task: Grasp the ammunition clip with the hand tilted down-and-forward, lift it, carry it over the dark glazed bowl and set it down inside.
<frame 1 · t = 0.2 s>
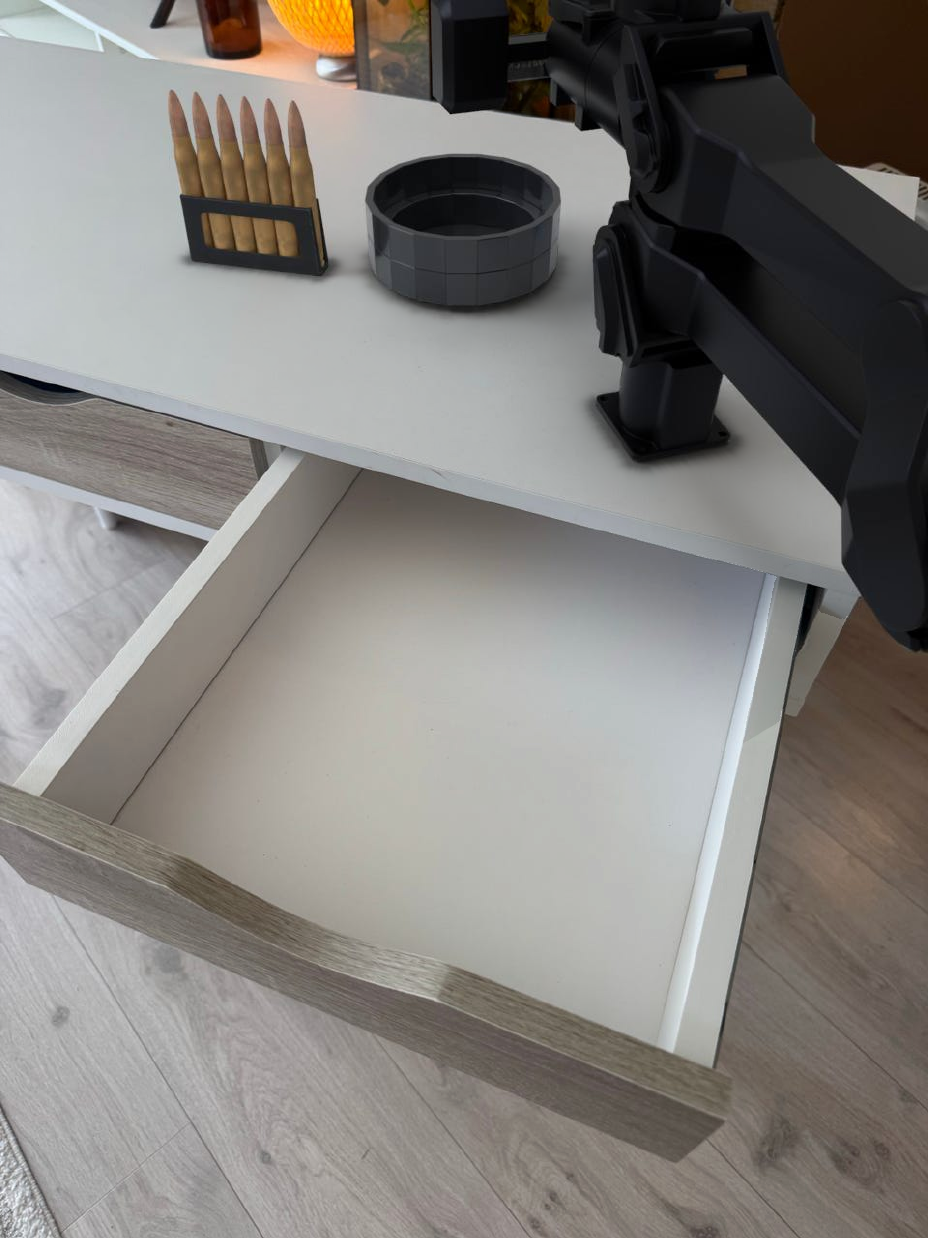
hand: (535, 0, 63), 17 cm above the table, tool horizontal, fingers open, 9 cm apart
bowl: (463, 264, 72), on the table
ammunition clip: (260, 264, 73), on the table
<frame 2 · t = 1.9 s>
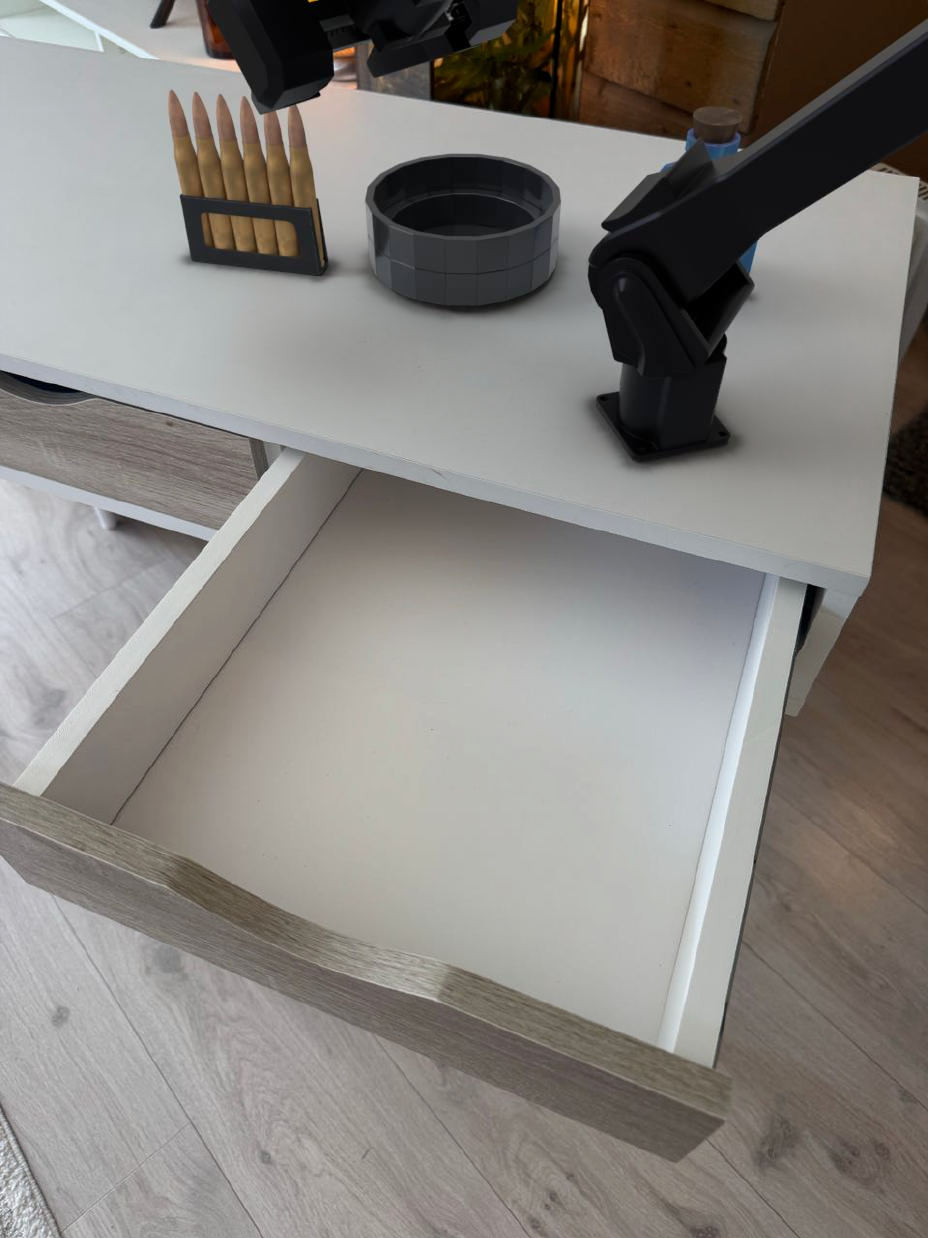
hand: (316, 87, 59), 14 cm above the table, tool tilted 50°, fingers open, 9 cm apart
nothing on the table moved.
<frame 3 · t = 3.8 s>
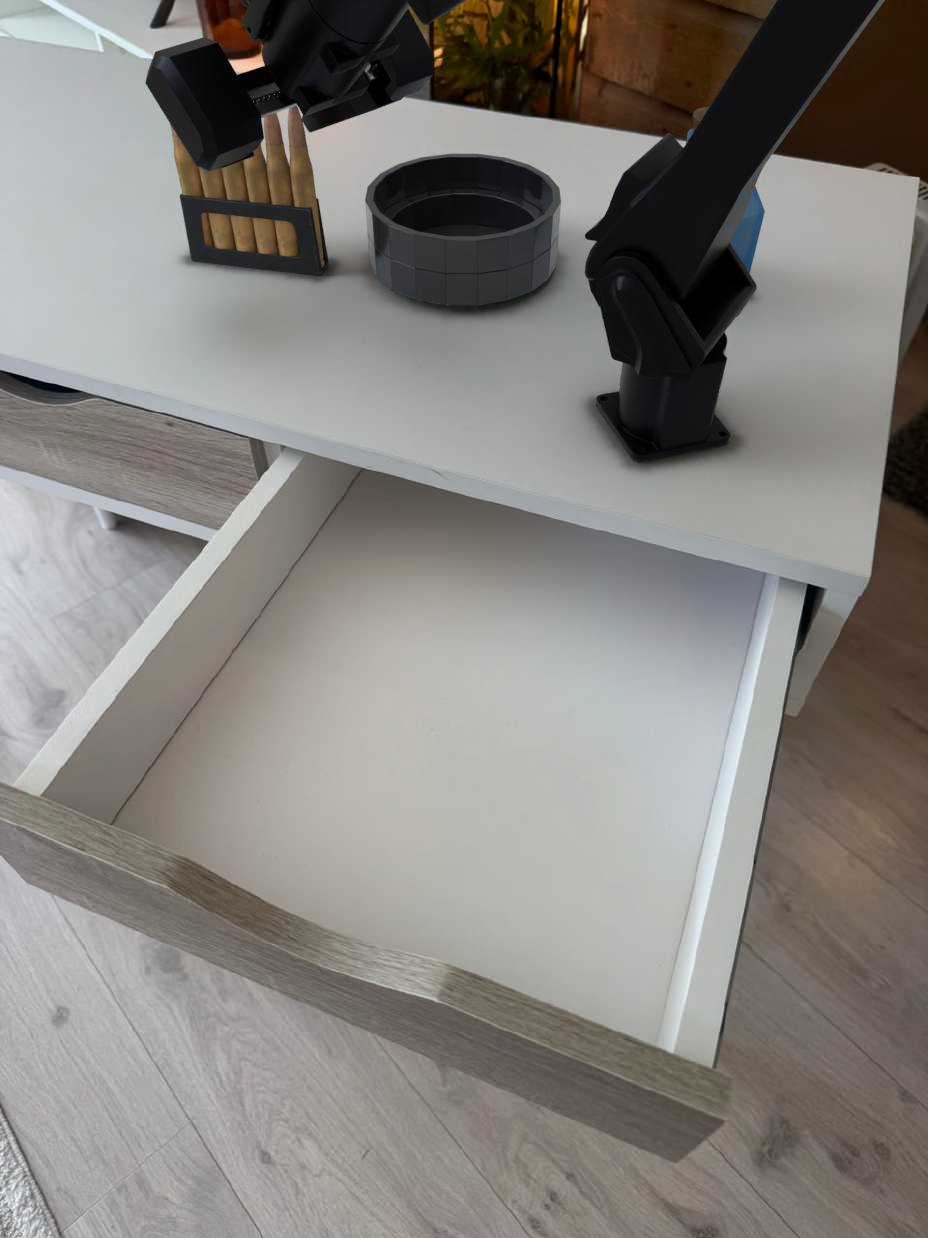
hand: (256, 144, 65), 9 cm above the table, tool tilted 45°, fingers open, 9 cm apart
nothing on the table moved.
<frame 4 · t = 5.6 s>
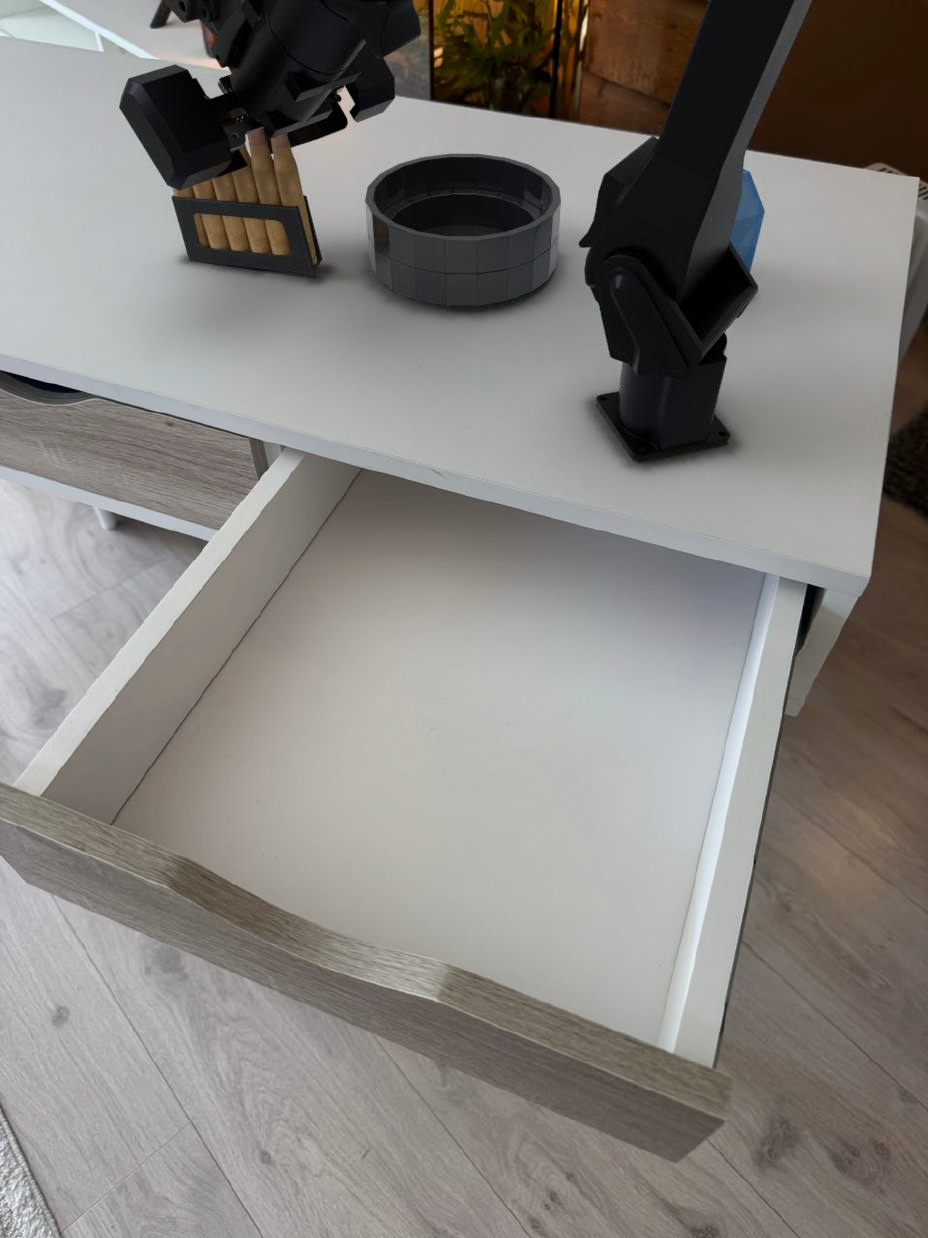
hand: (227, 161, 68), 7 cm above the table, tool tilted 45°, fingers closed on ammunition clip, 5 cm apart
ammunition clip: (255, 262, 72), on the table, touching gripper
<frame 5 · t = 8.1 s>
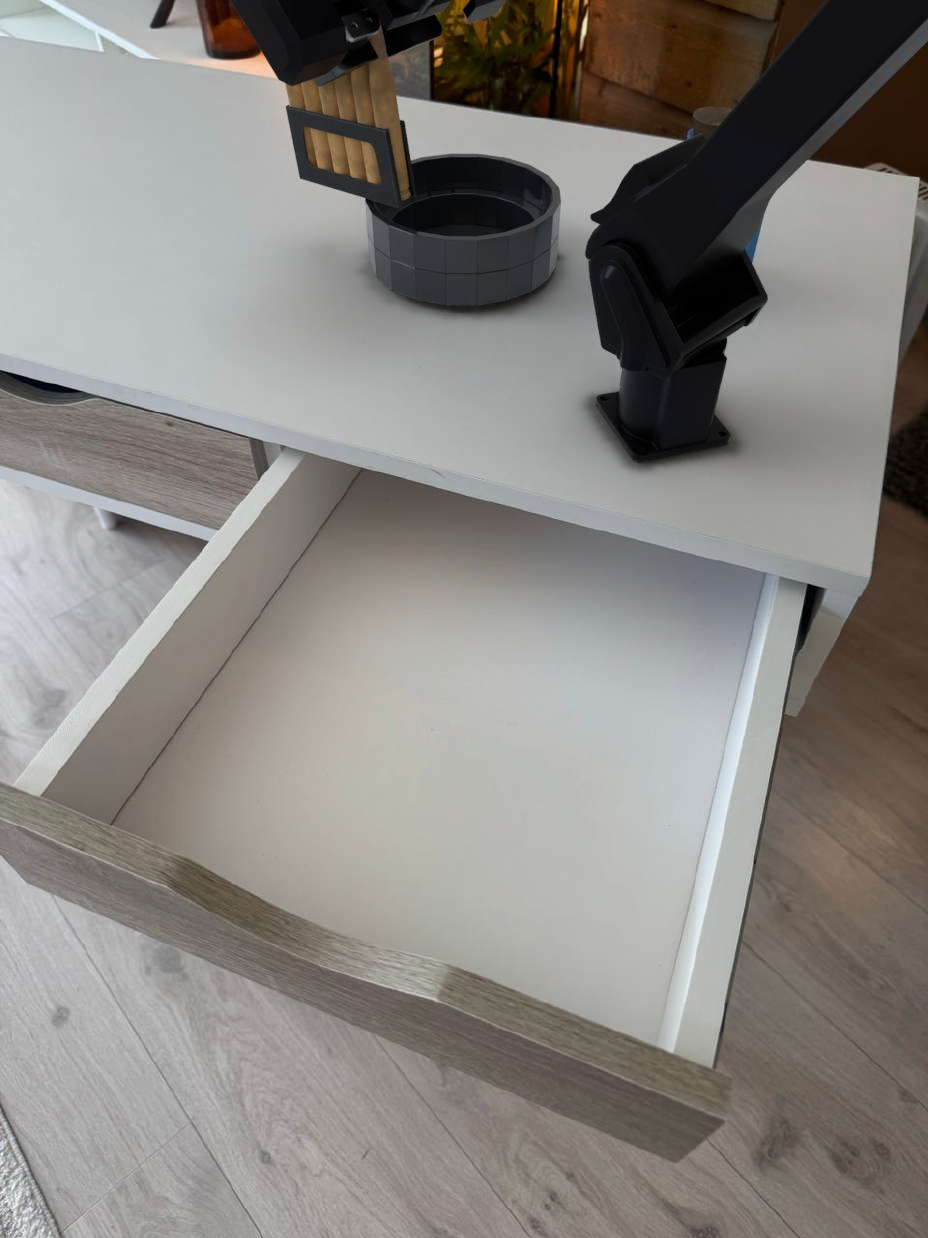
hand: (326, 74, 63), 13 cm above the table, tool tilted 45°, fingers closed on ammunition clip
ammunition clip: (357, 190, 68), point 6 cm above the table, touching gripper
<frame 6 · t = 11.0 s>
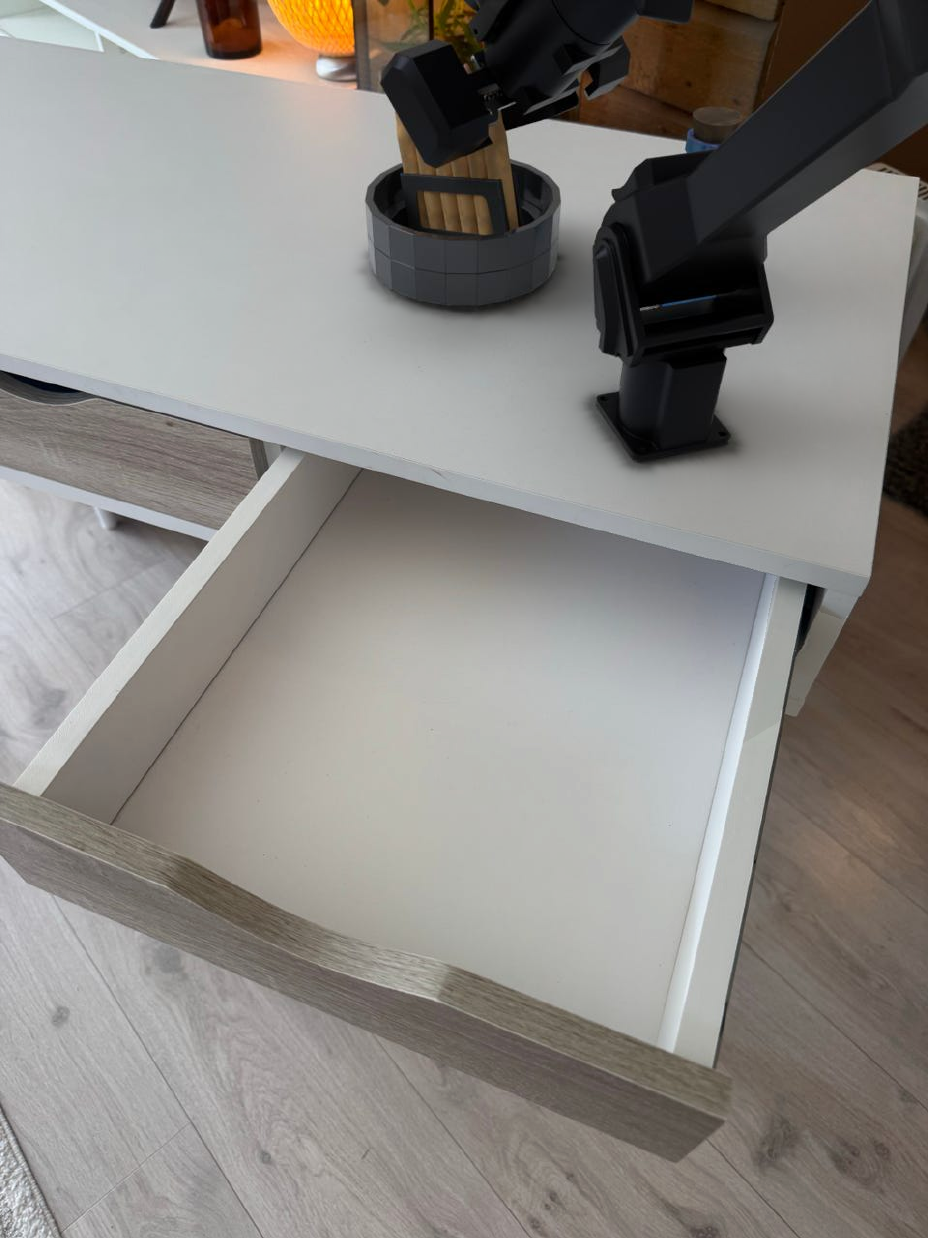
hand: (448, 143, 67), 9 cm above the table, tool tilted 45°, fingers open, 5 cm apart
ammunition clip: (467, 246, 71), point 2 cm above the table, touching bowl
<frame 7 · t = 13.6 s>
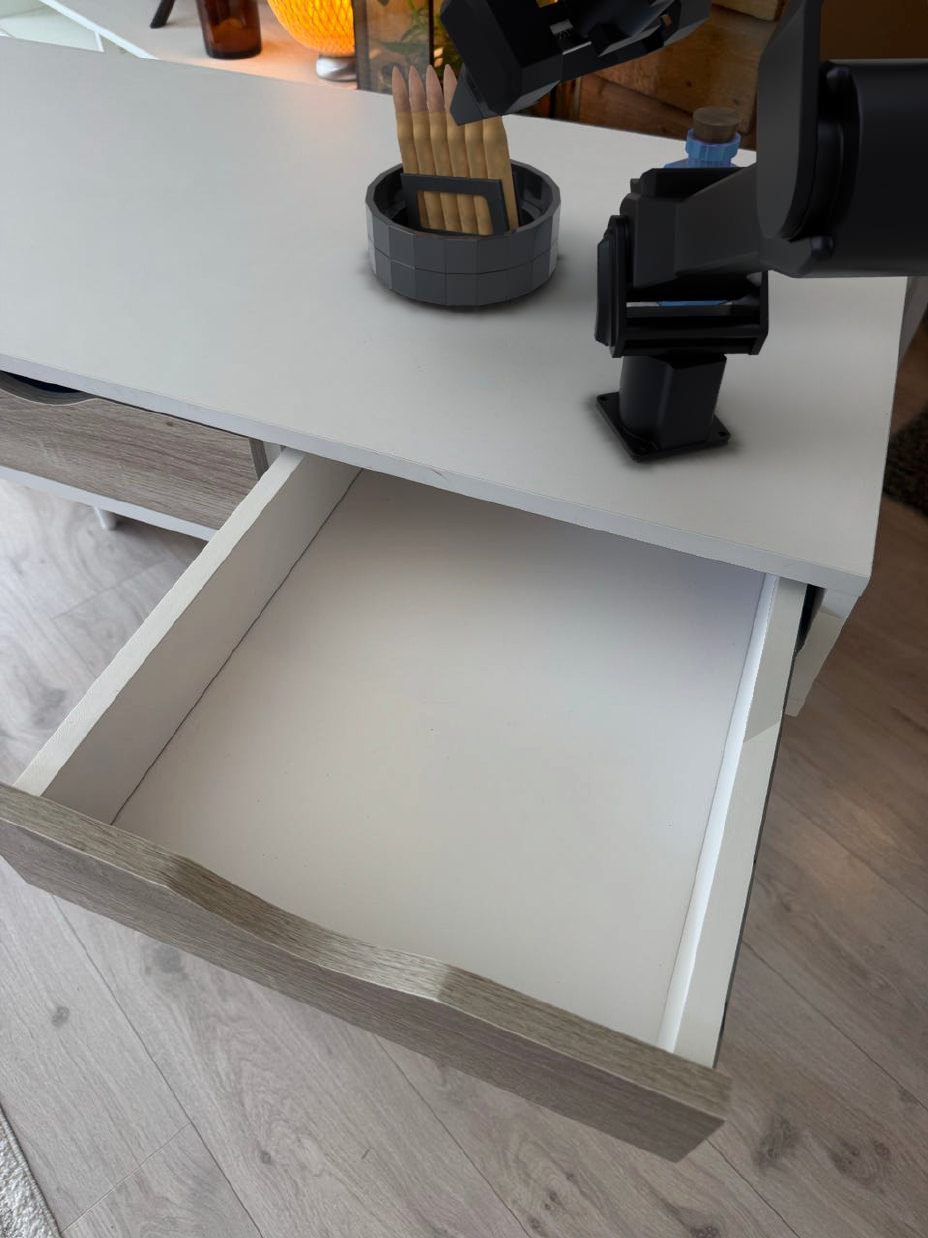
hand: (504, 96, 60), 13 cm above the table, tool tilted 45°, fingers open, 9 cm apart
nothing on the table moved.
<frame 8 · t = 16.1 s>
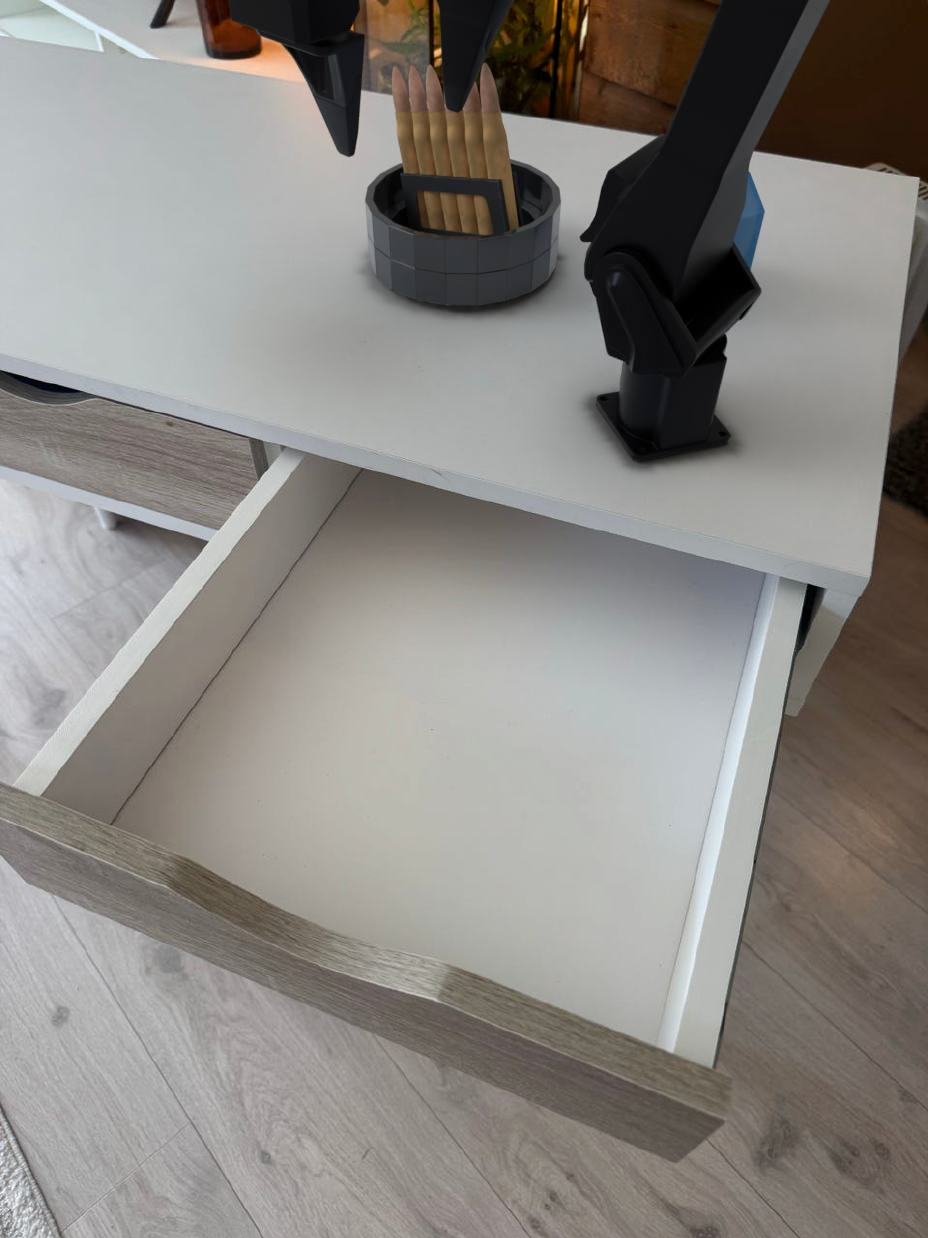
hand: (402, 131, 57), 13 cm above the table, tool pointing down, fingers open, 9 cm apart
nothing on the table moved.
at the end: ammunition clip inside the target area in the bowl (0.5 cm from its centre), point 1.7 cm above the bowl's base; the gripper is holding nothing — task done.
